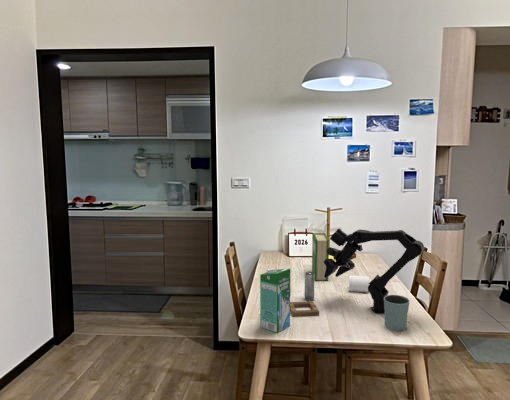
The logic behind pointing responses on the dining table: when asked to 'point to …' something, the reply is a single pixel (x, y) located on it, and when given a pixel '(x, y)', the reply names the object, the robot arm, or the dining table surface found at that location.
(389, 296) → the grey-green cup
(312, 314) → the holder
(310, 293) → the grey brushed cylinder
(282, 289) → the milk carton
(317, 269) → the hardback book
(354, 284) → the mug
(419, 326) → the dining table surface
